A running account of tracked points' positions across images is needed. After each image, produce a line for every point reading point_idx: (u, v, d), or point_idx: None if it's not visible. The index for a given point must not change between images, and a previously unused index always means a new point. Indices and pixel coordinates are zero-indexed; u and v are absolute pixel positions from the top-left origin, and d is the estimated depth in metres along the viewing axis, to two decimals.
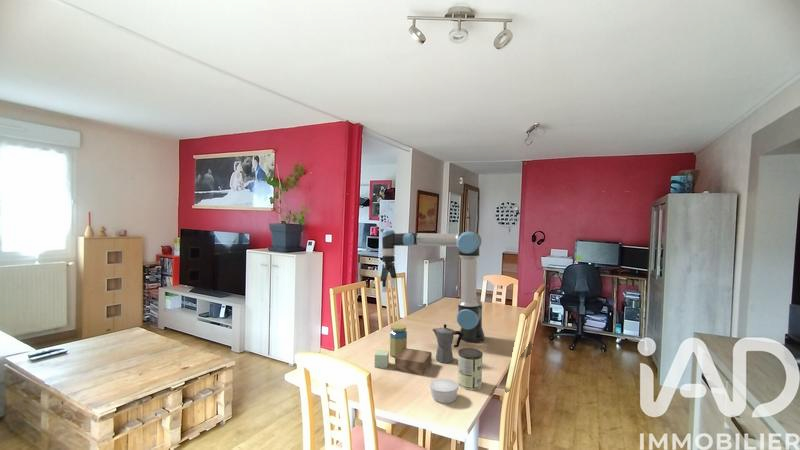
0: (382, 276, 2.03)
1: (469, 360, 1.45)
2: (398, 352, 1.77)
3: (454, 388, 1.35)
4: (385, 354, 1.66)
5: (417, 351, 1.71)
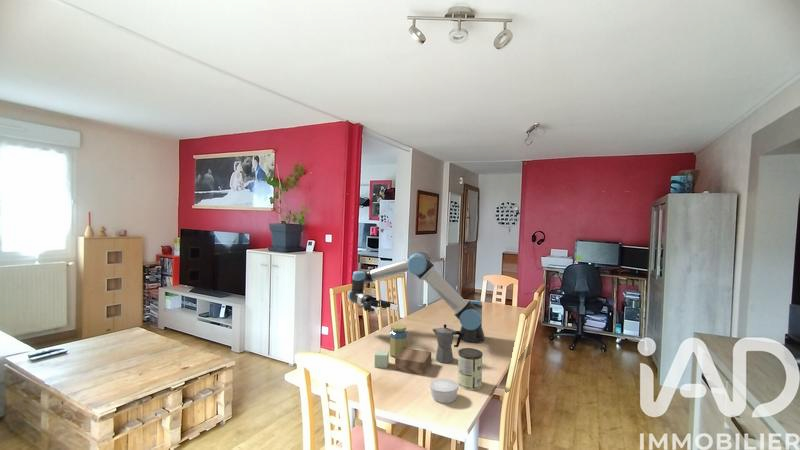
0: (364, 308, 1.90)
1: (469, 360, 1.45)
2: (398, 352, 1.77)
3: (454, 388, 1.35)
4: (385, 354, 1.66)
5: (417, 351, 1.71)
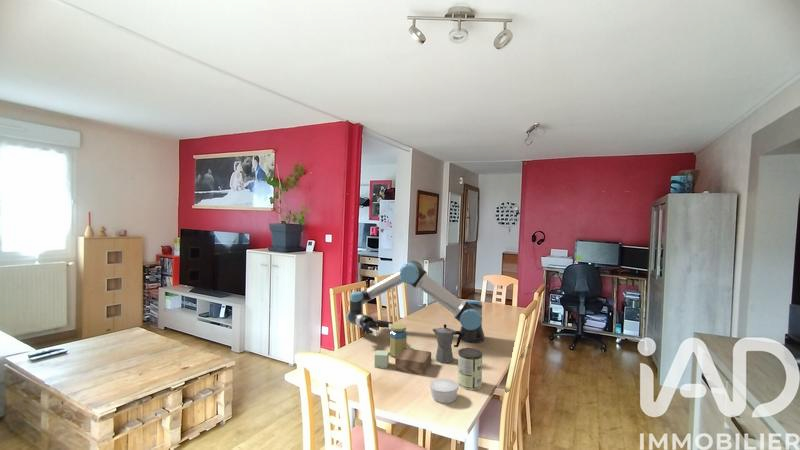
0: (362, 330, 1.90)
1: (469, 360, 1.45)
2: (397, 352, 1.77)
3: (454, 388, 1.35)
4: (385, 354, 1.66)
5: (417, 351, 1.71)
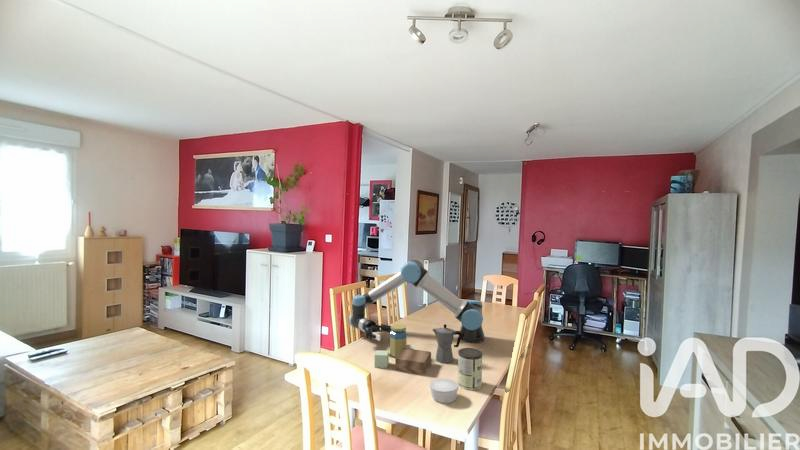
0: (365, 334, 1.87)
1: (469, 360, 1.45)
2: (397, 352, 1.77)
3: (454, 388, 1.35)
4: (385, 354, 1.66)
5: (417, 351, 1.71)
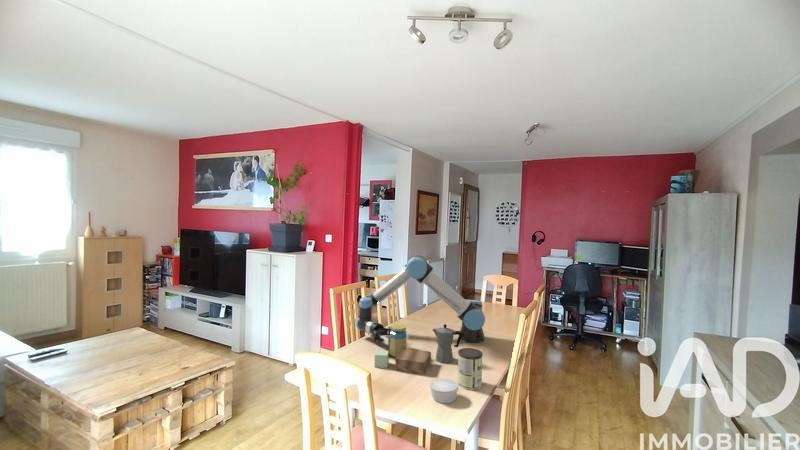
0: (373, 338, 1.82)
1: (469, 360, 1.45)
2: (397, 352, 1.76)
3: (454, 388, 1.35)
4: (385, 354, 1.66)
5: (417, 351, 1.71)
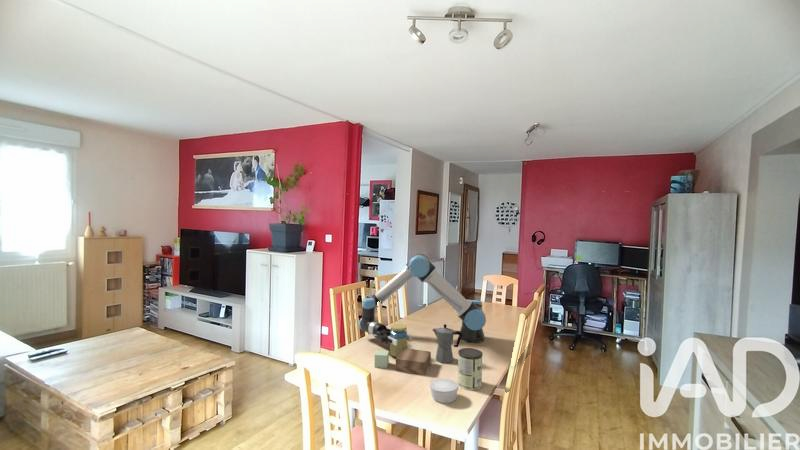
0: (380, 339, 1.80)
1: (469, 360, 1.45)
2: (398, 352, 1.77)
3: (454, 388, 1.35)
4: (385, 354, 1.66)
5: (417, 351, 1.71)
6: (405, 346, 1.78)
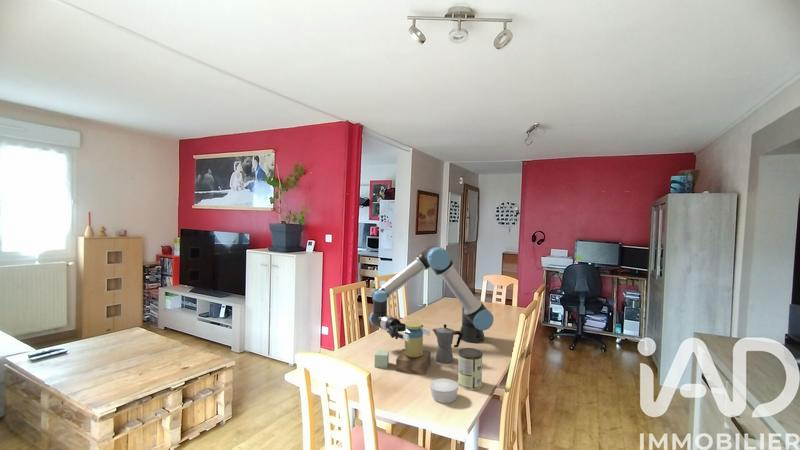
0: (390, 334, 1.65)
1: (469, 360, 1.45)
2: (413, 352, 1.62)
3: (454, 388, 1.35)
4: (385, 354, 1.66)
5: None
6: (421, 345, 1.64)
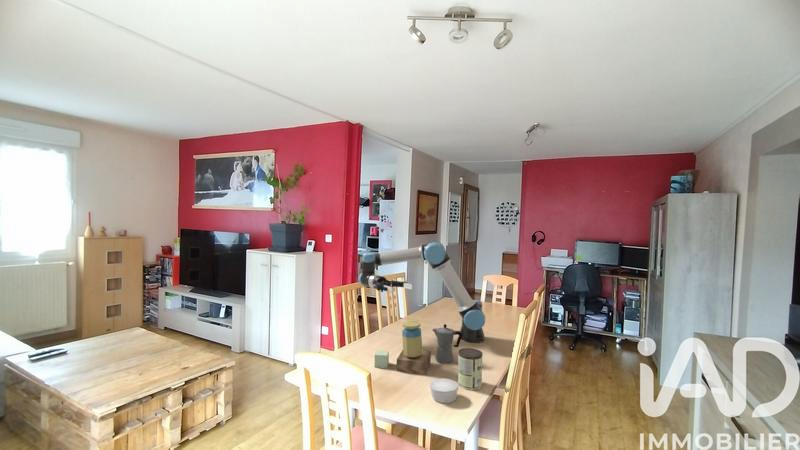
0: (376, 288, 1.81)
1: (469, 360, 1.45)
2: (410, 351, 1.62)
3: (454, 388, 1.35)
4: (385, 354, 1.66)
5: None
6: (418, 346, 1.63)
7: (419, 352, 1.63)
